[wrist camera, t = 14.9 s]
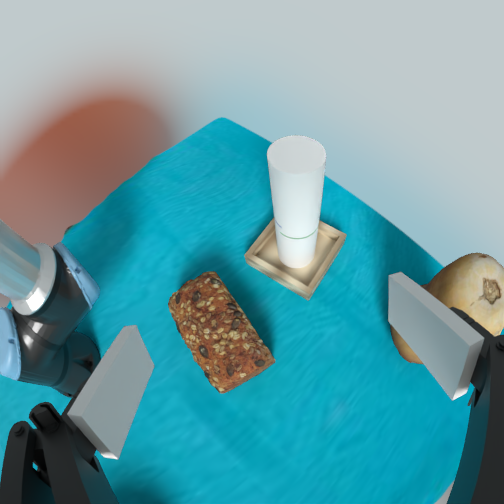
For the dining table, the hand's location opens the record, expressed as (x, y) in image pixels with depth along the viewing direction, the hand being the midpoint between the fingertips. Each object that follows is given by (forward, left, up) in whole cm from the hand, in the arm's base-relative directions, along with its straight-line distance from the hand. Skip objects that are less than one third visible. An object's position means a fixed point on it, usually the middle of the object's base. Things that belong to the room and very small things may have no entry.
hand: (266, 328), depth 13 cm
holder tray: (-10, +20, -36) cm, 42 cm away
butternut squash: (+18, +18, -36) cm, 44 cm away
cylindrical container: (-10, +20, -35) cm, 42 cm away
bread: (-12, -1, -36) cm, 38 cm away
